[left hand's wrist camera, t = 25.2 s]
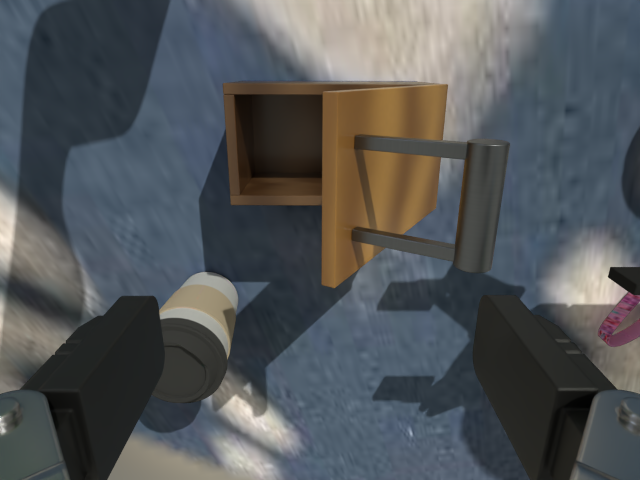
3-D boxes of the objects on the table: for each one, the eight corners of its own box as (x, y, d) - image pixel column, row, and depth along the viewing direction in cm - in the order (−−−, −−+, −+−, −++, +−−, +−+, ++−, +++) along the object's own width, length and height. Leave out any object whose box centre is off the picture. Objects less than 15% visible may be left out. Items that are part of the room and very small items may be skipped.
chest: (248, 178, 49) (230, 205, 40) (243, 80, 46) (222, 83, 36) (408, 179, 49) (430, 206, 40) (415, 81, 46) (441, 83, 36)
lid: (321, 285, 25) (475, 326, 21) (322, 91, 21) (508, 96, 17) (426, 206, 39) (529, 222, 35) (437, 84, 36) (553, 86, 32)
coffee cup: (213, 342, 57) (177, 432, 43) (156, 296, 54) (99, 374, 40) (262, 298, 54) (242, 377, 40) (206, 248, 52) (164, 313, 38)
